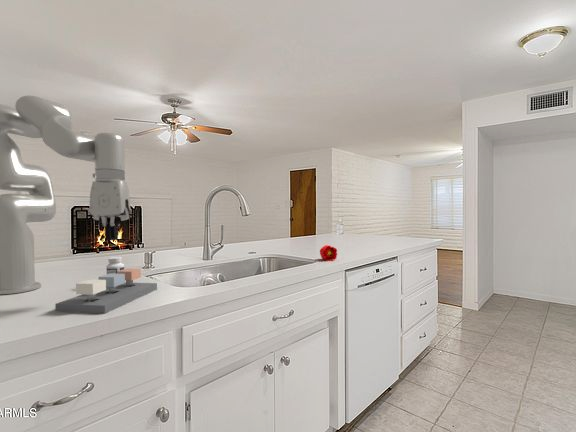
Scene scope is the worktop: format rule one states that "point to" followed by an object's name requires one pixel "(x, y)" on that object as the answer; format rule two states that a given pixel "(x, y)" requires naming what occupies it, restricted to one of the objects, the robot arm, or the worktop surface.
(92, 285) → the ivory key
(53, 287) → the worktop surface
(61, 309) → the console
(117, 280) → the slate key
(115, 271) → the pill bottle
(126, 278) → the terracotta key
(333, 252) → the flower
